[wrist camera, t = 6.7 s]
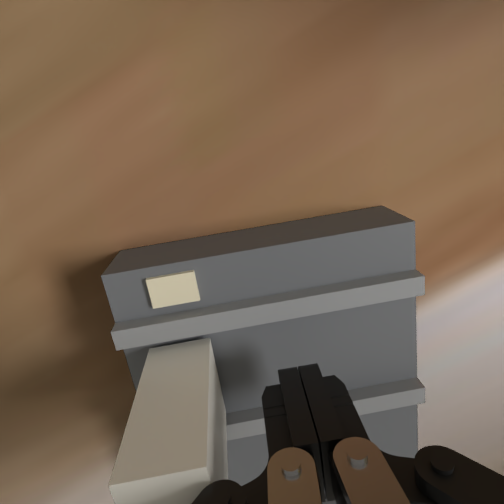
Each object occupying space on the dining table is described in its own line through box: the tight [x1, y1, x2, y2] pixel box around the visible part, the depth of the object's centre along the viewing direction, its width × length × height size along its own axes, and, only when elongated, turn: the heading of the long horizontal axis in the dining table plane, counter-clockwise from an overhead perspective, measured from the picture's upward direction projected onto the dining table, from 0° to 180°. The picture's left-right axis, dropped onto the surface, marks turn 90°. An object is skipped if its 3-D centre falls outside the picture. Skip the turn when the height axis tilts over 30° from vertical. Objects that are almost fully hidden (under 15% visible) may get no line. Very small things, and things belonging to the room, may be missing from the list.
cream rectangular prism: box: [108, 338, 228, 504], centre depth 13 cm, size 2×4×6 cm, turn 9°
